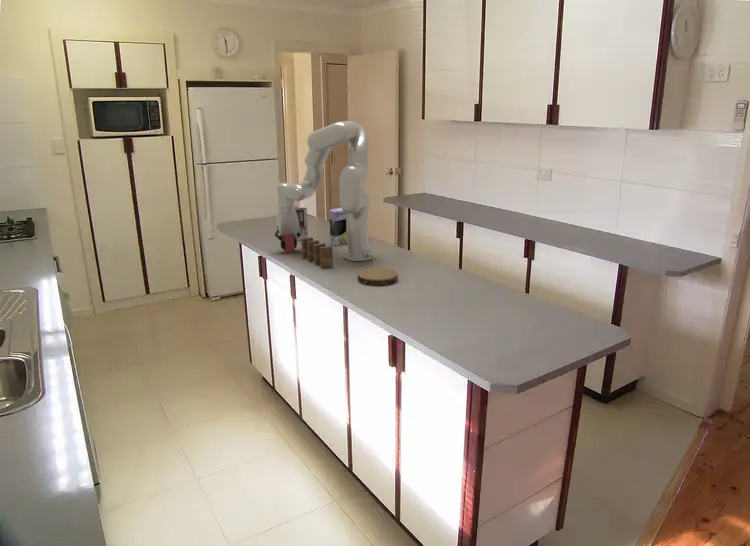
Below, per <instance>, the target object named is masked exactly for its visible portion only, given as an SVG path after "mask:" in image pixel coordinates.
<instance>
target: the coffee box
mask: <svg viewBox="0 0 750 546" xmlns="http://www.w3.org/2000/svg"><path fill="white" fill-rule="evenodd" d="M307 211H308V210H307V207H298V209H296V211H295V212H296V213H297V216H298V221H299V227H300V228H301V229H302V230H303V232H302V233H301V234H300V235H299V237H298V239H297V242H298V241H299V242H300V241H301V239H303V238H309V233H308V232H309V231H308V215H307V214H308V213H307Z"/></svg>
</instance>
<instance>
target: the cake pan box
mask: <svg viewBox="0 0 750 546" xmlns="http://www.w3.org/2000/svg"><path fill="white" fill-rule="evenodd" d="M328 213H329V238H330V239H329V240H330V244H331V245H332V244H333V245H332V246H335V245H336V246H340V245H343V244H347V213H346V212H345V211H343V210H342V208H341V207H337V208H332V209H329V212H328Z"/></svg>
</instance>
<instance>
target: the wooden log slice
mask: <svg viewBox="0 0 750 546" xmlns="http://www.w3.org/2000/svg"><path fill="white" fill-rule="evenodd" d="M398 277H399V273H398V272H397V270H394V269H392V268H389V267H367V268H362V269H360V270H359V271H358V272H357V282H358V283H359V284H362V285H365V286H368V287H369V286H370V287H384V286H391V285H394V284H395V283H397V282H398Z"/></svg>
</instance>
